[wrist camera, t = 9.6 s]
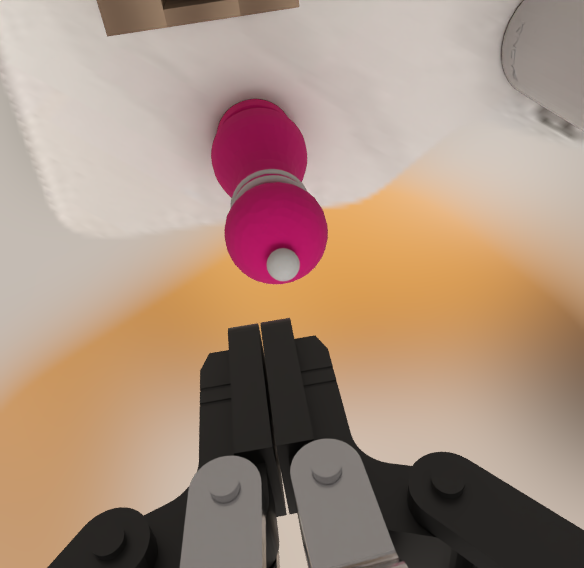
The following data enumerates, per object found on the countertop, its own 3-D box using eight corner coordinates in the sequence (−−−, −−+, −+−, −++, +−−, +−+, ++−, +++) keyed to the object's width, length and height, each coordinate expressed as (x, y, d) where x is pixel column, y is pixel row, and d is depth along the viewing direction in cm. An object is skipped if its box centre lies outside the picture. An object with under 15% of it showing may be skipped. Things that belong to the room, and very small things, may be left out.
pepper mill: (211, 89, 41) (216, 210, 25) (302, 94, 42) (364, 213, 26) (210, 176, 45) (214, 328, 29) (293, 178, 46) (342, 326, 30)
